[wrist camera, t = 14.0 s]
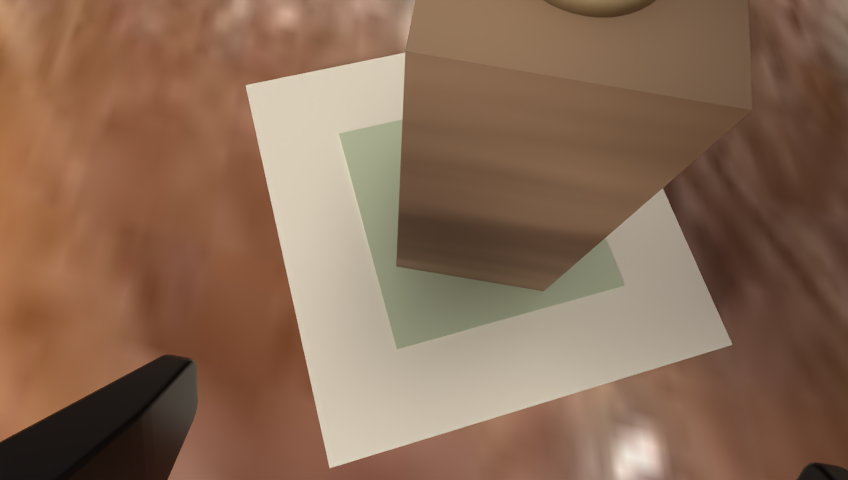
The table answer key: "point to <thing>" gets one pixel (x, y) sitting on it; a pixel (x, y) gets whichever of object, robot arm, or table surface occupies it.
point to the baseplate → (446, 283)
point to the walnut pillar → (555, 124)
